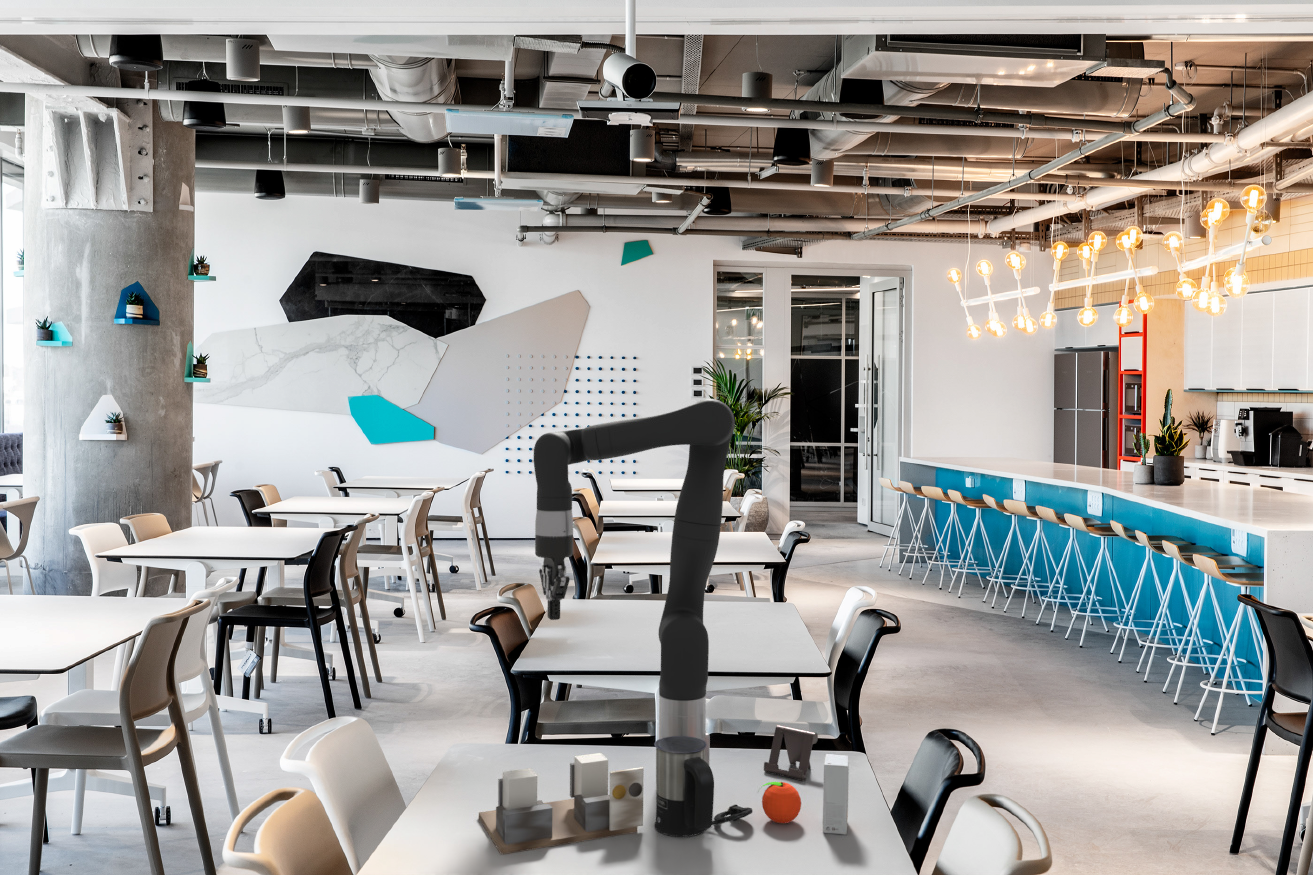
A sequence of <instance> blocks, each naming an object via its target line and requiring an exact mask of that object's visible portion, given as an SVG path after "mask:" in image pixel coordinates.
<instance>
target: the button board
mask: <svg viewBox="0 0 1313 875" xmlns="http://www.w3.org/2000/svg"><path fill="white" fill-rule="evenodd" d="M644 772H645V771H644V767H643V766H641V767H635V768H626V769H620V770H618V769H617V770H613V771H612V770H611V771H609V794H608V795H604V796H598V797H591V798H584V797H583V796H582V795H581V794H580V795H574V798H567V799H562V800H554V801H549V802H544V801H543V800H537V806H530V807H523V808H516V809H510V810H506V809H505V808H504V806H498V805H497V806H495V809H493V810H487V811H486V810H485V811H480V812H478V819H479V821H480V823H481V824H482V825H483V828H484V830H485V831H486V833H487V834H488V836H489V838H490V839H491V838H492V839H491V840H492V841H493V843H494V845H495V846H497V847H496V848H497V851H499V852H500V855H505V854H512V853H518V852H524V851H529V850H536V849H541V848H549V847H554V846H560V845H565V844H572V843H578V842H584V841H591V840H597V839H602V838H608V837H615V836H621V835H627V834H633V833H638V827H642V826H644V776H645V775H644Z"/></svg>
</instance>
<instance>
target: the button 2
mask: <svg viewBox="0 0 1313 875" xmlns="http://www.w3.org/2000/svg"><path fill="white" fill-rule="evenodd" d="M573 760H574V761H573V762H570V763H569V797H570V799H574V795H580V794H581V795H582V796H583V797H584V798H591V797H598V796H604V795H609V759H608V758H607V757H606V756H605V755H604V754H602V752H599V753H597V752H596V753H589V754H583V755H575V756H574V759H573Z"/></svg>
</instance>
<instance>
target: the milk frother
mask: <svg viewBox="0 0 1313 875" xmlns="http://www.w3.org/2000/svg"><path fill="white" fill-rule="evenodd" d="M653 744H654V747H655V785H656V786H655V788H656V790H655V791H656V794H655V796H656V798H655V800H656V801H655V804H656V806H655V807H656V808H655V810H656V811H655V821H654V825H653V826H654V829H655V830H656V831H657V832H659V833H661V834H663V835H667V836H672V837H684V838H685V837H693V836H697V835H700V834H701V833H704V832H705V831H706V830H707V829H711V827H712V826H715V825H718V824H722V823H727V822H736V821H738V820H740V819H743V818H745V817H748V816H749V815H752V814H753V809H752V807H742V806H738V804H733V805H730V806H729V807H728V808H727V810H725V811H723V812H720V813H717V814H716V815H715V816H713V815H714V813H713V811H714V796H715V794H714V793H715V777H714V774H713V771H712V769H711V766H710V764H709V765H708V763H707V762H706V761H705V748H706V747H707V743H706V742H705V741H704V740H701V739H699V738H695V737H688V736H672V737H666V738H662V739H659V738H658V739H657V740H656V741H655V742H654V743H653Z"/></svg>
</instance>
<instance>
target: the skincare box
mask: <svg viewBox="0 0 1313 875" xmlns="http://www.w3.org/2000/svg"><path fill="white" fill-rule="evenodd" d="M823 763H824V765H823V794H822V795H823V797H822V798H823V804H822V805H823V806H822V833H826V834H836V835H845V836H846V835H847V834H848V816H849V775H850V774H849V772H850V771H849V770H850V769H849V763H850V762H849V755H844V754H843V755H842V754H841V755H840V754H832V753H831V754H830V753H826V754H825V755H824V762H823Z"/></svg>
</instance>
